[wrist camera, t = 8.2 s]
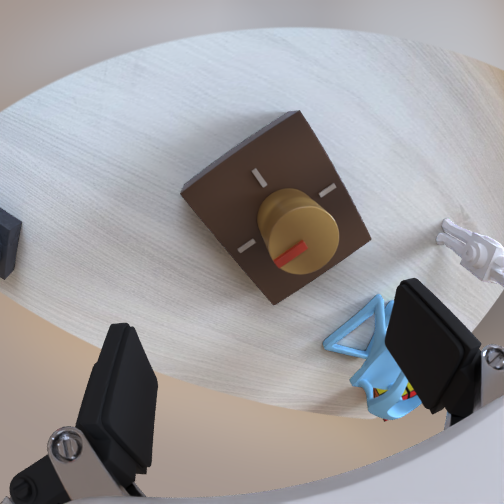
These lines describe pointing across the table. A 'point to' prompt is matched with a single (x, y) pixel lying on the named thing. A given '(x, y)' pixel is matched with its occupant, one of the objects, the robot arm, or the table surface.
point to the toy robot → (475, 252)
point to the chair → (376, 363)
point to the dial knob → (297, 231)
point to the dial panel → (260, 187)
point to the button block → (8, 242)
